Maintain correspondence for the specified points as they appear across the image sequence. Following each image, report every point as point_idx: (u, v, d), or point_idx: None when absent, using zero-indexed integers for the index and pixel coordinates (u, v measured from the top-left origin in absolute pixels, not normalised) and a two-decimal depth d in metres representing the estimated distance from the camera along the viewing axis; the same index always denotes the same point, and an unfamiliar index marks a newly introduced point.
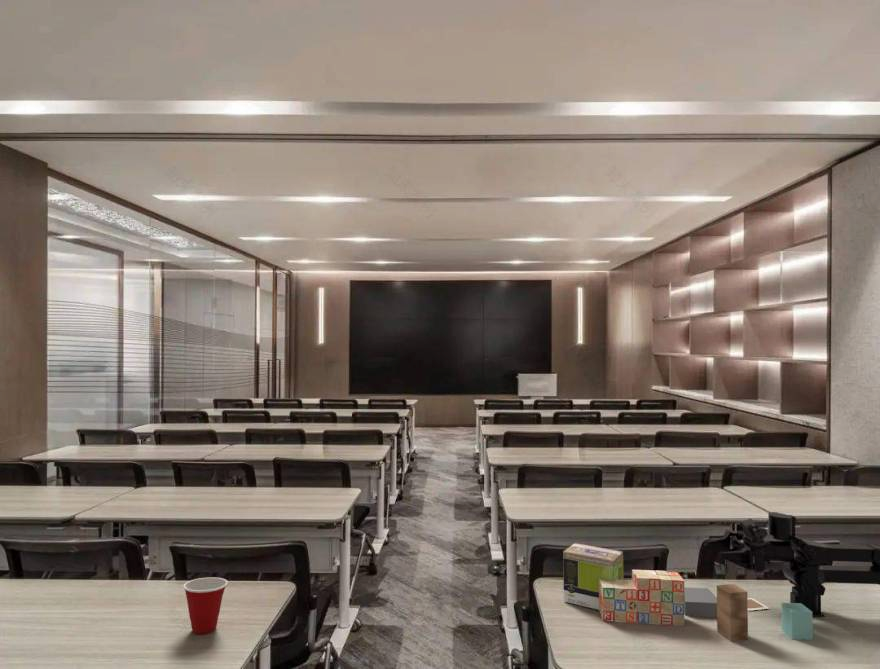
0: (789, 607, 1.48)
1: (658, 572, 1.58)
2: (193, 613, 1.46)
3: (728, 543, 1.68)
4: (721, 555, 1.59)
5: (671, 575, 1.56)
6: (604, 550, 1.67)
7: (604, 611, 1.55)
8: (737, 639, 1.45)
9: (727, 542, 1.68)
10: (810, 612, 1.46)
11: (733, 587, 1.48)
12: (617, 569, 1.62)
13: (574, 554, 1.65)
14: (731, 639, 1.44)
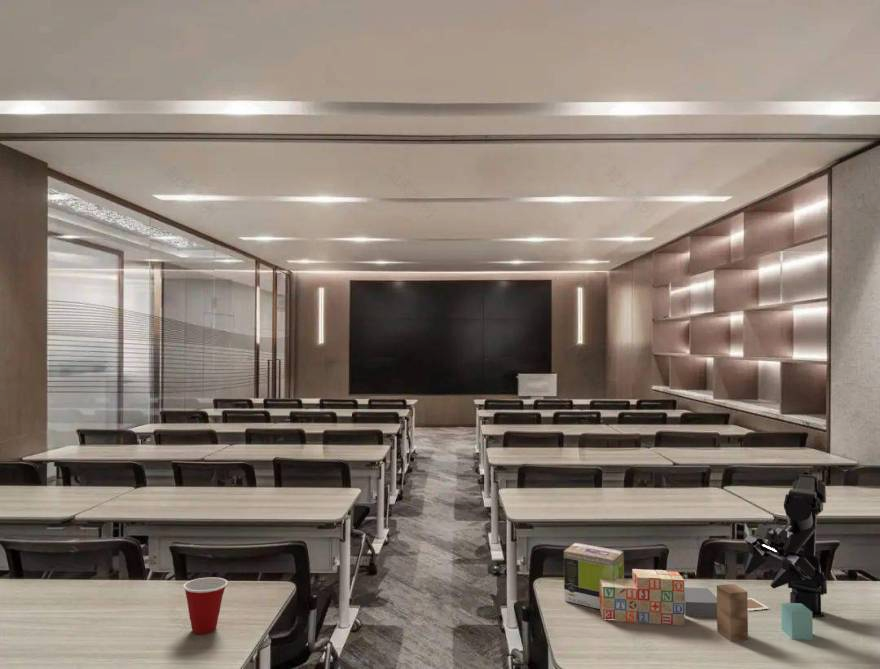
0: (789, 607, 1.48)
1: (658, 571, 1.58)
2: (193, 613, 1.46)
3: (758, 554, 1.55)
4: (773, 586, 1.45)
5: (671, 574, 1.57)
6: (605, 549, 1.68)
7: (604, 610, 1.56)
8: (737, 639, 1.45)
9: (757, 554, 1.55)
10: (810, 612, 1.46)
11: (733, 587, 1.48)
12: (618, 569, 1.62)
13: (575, 554, 1.66)
14: (731, 639, 1.44)
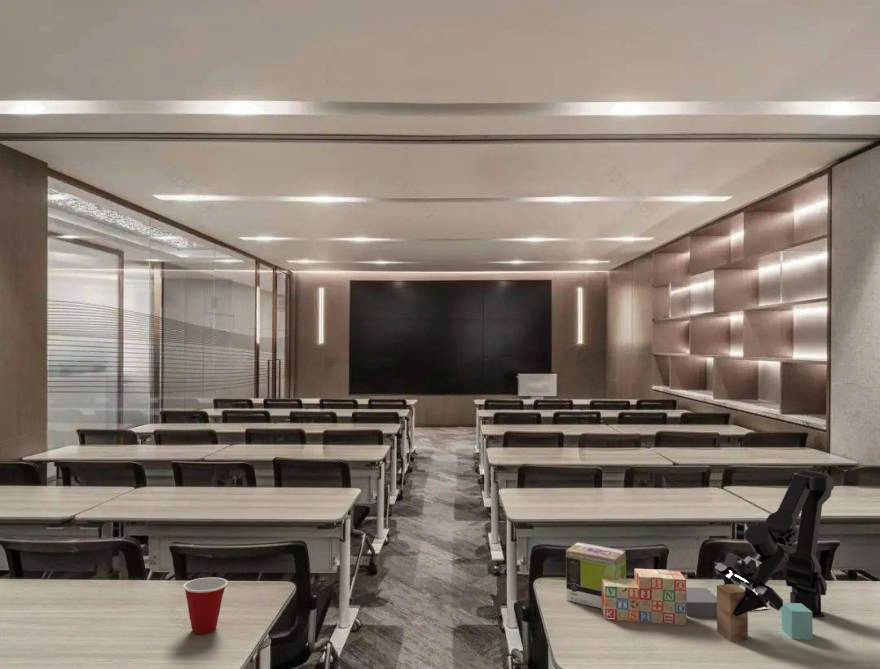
0: (789, 607, 1.48)
1: (660, 571, 1.59)
2: (193, 613, 1.46)
3: None
4: (736, 614, 1.44)
5: (673, 574, 1.57)
6: (607, 549, 1.68)
7: (606, 609, 1.56)
8: (737, 639, 1.45)
9: None
10: (810, 612, 1.46)
11: (733, 587, 1.48)
12: (620, 568, 1.63)
13: (577, 553, 1.66)
14: (731, 639, 1.44)
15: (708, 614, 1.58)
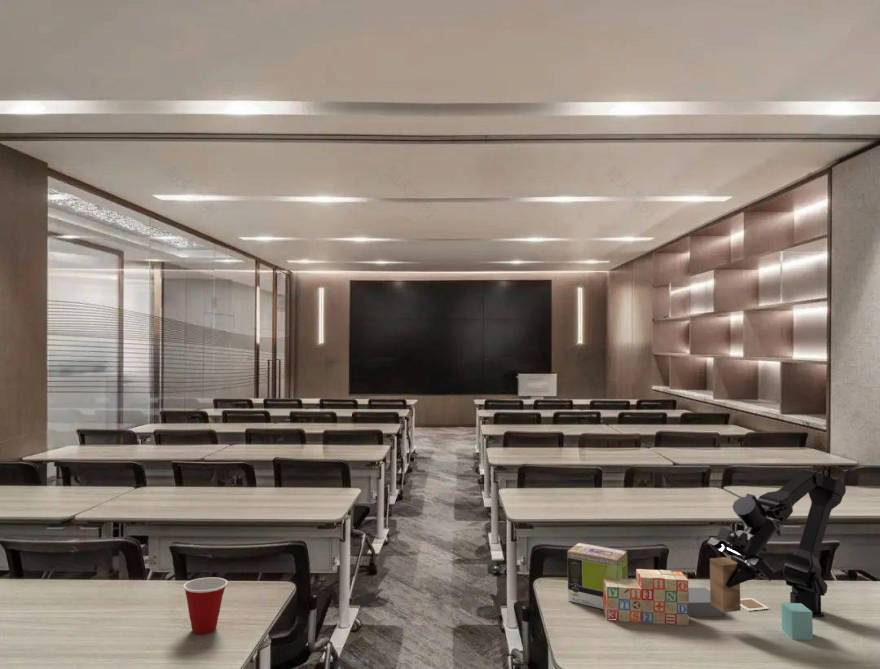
0: (789, 607, 1.48)
1: (662, 572, 1.58)
2: (193, 613, 1.46)
3: None
4: (728, 585, 1.48)
5: (675, 575, 1.57)
6: (608, 549, 1.68)
7: (608, 610, 1.56)
8: (730, 610, 1.48)
9: None
10: (810, 612, 1.46)
11: (726, 560, 1.52)
12: (621, 568, 1.62)
13: (578, 554, 1.66)
14: (724, 610, 1.48)
15: (708, 614, 1.58)
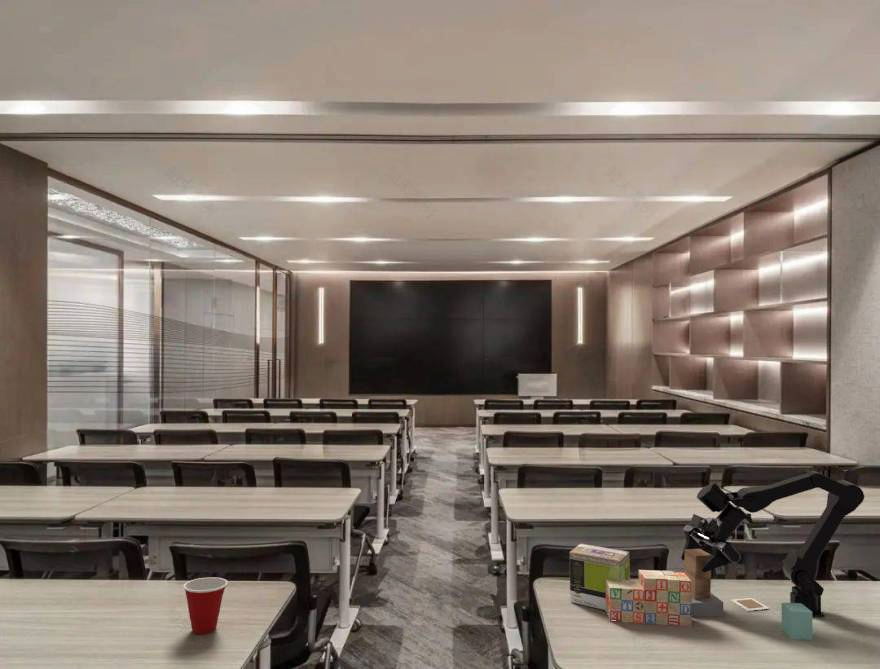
0: (789, 607, 1.48)
1: (665, 572, 1.58)
2: (193, 613, 1.46)
3: (694, 542, 1.70)
4: (703, 570, 1.59)
5: (678, 575, 1.56)
6: (610, 550, 1.67)
7: (611, 611, 1.55)
8: (700, 597, 1.61)
9: (693, 542, 1.69)
10: (810, 612, 1.46)
11: (699, 551, 1.64)
12: (624, 569, 1.62)
13: (581, 555, 1.65)
14: (695, 597, 1.61)
15: (709, 614, 1.58)
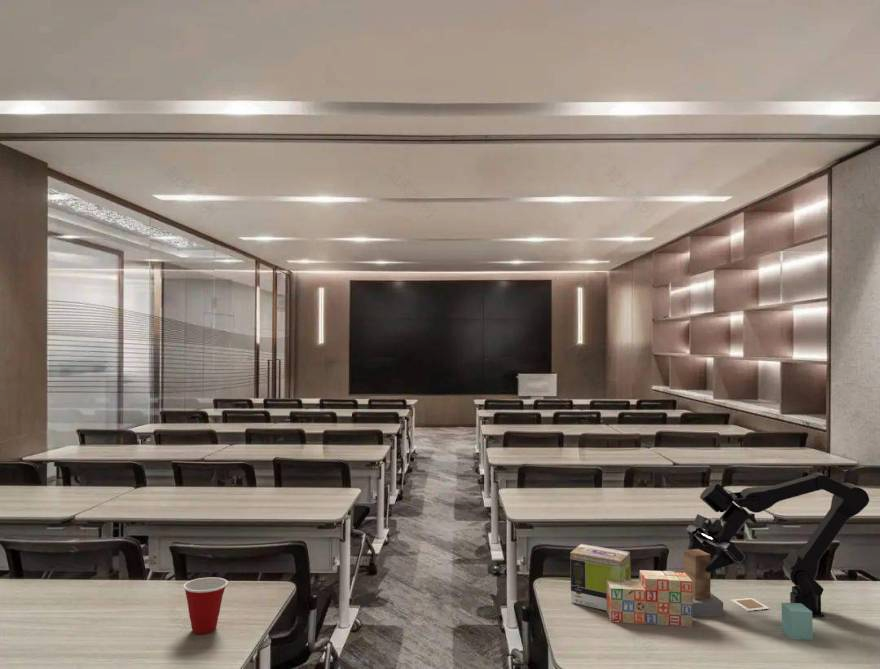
0: (789, 607, 1.48)
1: (666, 573, 1.58)
2: (193, 613, 1.46)
3: (698, 542, 1.70)
4: (707, 570, 1.59)
5: (679, 576, 1.56)
6: (611, 551, 1.67)
7: (612, 612, 1.55)
8: (701, 597, 1.61)
9: (697, 542, 1.70)
10: (810, 612, 1.46)
11: (698, 551, 1.65)
12: (625, 570, 1.62)
13: (581, 555, 1.65)
14: (696, 597, 1.60)
15: (709, 614, 1.58)
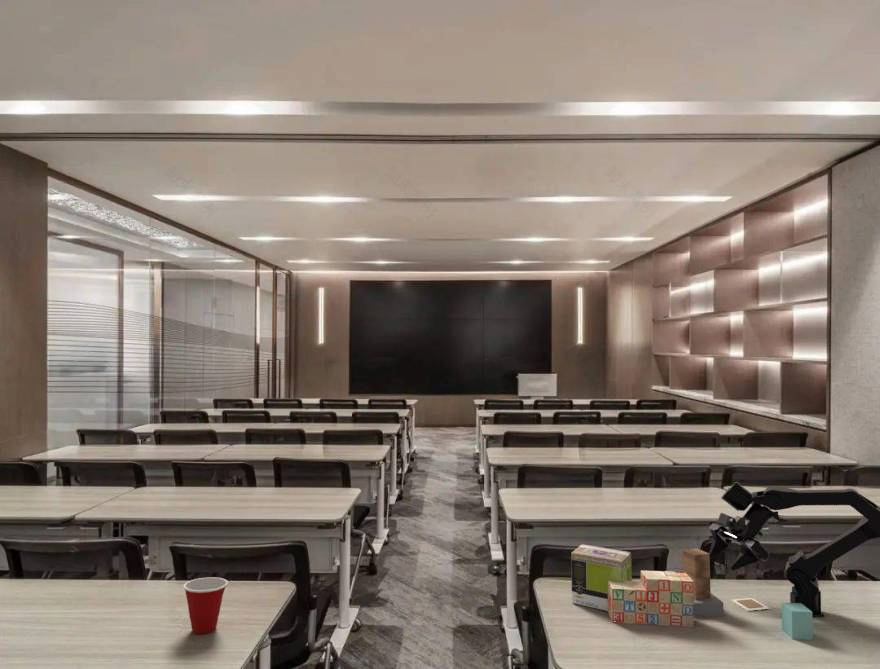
0: (789, 607, 1.48)
1: (667, 573, 1.57)
2: (193, 613, 1.46)
3: (721, 540, 1.71)
4: (732, 568, 1.60)
5: (680, 576, 1.56)
6: (612, 551, 1.67)
7: (613, 612, 1.54)
8: (701, 597, 1.61)
9: (720, 540, 1.71)
10: (810, 612, 1.46)
11: (697, 551, 1.65)
12: (626, 570, 1.61)
13: (582, 556, 1.65)
14: (696, 597, 1.61)
15: (709, 614, 1.58)
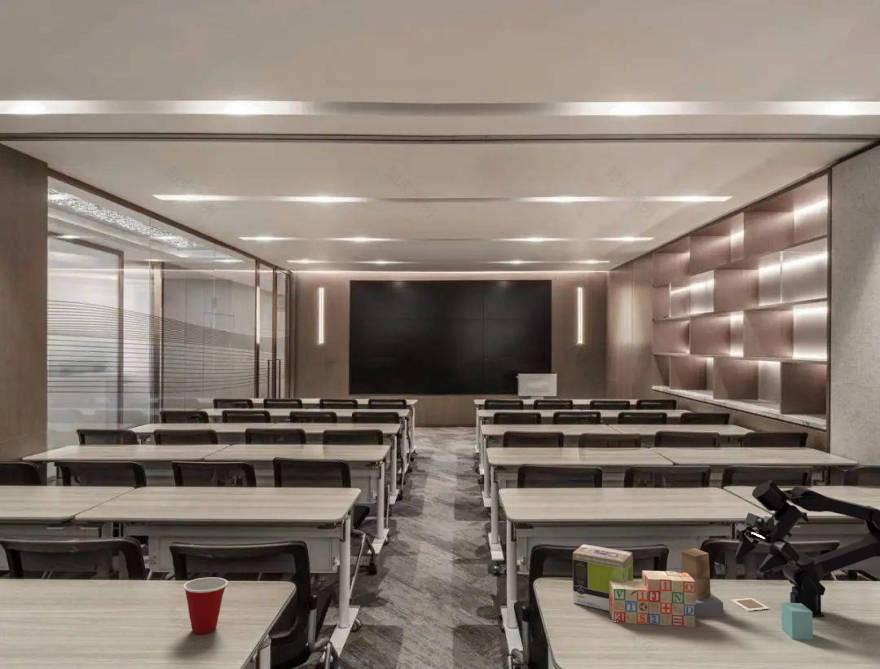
0: (789, 607, 1.48)
1: (668, 573, 1.58)
2: (193, 613, 1.46)
3: (748, 541, 1.66)
4: (761, 570, 1.55)
5: (681, 576, 1.56)
6: (613, 551, 1.67)
7: (615, 612, 1.54)
8: (702, 597, 1.61)
9: (747, 541, 1.65)
10: (810, 612, 1.46)
11: (696, 551, 1.65)
12: (627, 570, 1.61)
13: (584, 555, 1.65)
14: (698, 597, 1.60)
15: (709, 614, 1.58)
